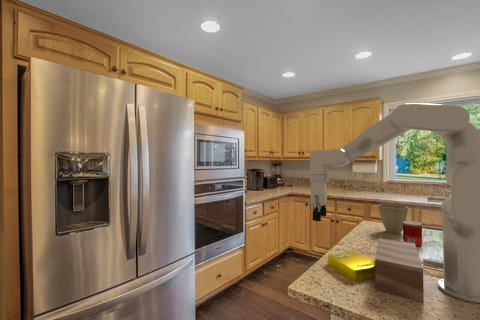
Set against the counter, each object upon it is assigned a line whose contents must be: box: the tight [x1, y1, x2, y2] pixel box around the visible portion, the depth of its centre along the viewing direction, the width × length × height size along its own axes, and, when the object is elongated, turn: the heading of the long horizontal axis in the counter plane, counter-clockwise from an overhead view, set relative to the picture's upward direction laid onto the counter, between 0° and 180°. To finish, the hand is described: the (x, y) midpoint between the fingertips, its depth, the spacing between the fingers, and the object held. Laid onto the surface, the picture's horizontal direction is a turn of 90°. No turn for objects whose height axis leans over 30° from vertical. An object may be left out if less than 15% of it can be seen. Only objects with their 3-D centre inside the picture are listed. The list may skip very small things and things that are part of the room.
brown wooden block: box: [374, 237, 425, 303], centre depth 83 cm, size 25×12×10 cm, turn 147°
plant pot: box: [378, 203, 409, 235], centre depth 137 cm, size 15×15×16 cm
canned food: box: [402, 220, 423, 248], centre depth 117 cm, size 8×8×11 cm
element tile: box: [327, 250, 376, 282], centre depth 91 cm, size 15×15×5 cm
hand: (319, 218), depth 98 cm, fingers open, 9 cm apart
